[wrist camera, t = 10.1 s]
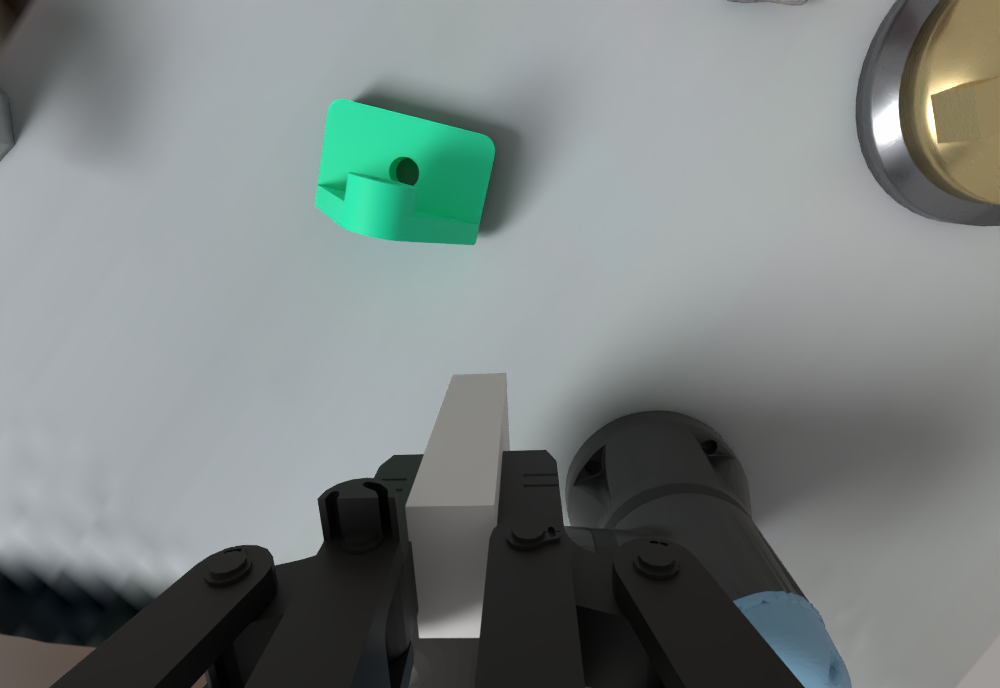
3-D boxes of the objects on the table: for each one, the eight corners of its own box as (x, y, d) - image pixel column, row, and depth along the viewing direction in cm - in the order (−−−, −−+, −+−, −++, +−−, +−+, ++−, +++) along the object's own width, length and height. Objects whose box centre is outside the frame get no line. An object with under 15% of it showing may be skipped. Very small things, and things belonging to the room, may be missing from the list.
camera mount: (499, 140, 42) (491, 128, 32) (476, 241, 44) (462, 259, 34) (341, 100, 41) (284, 76, 31) (326, 204, 43) (268, 211, 34)
